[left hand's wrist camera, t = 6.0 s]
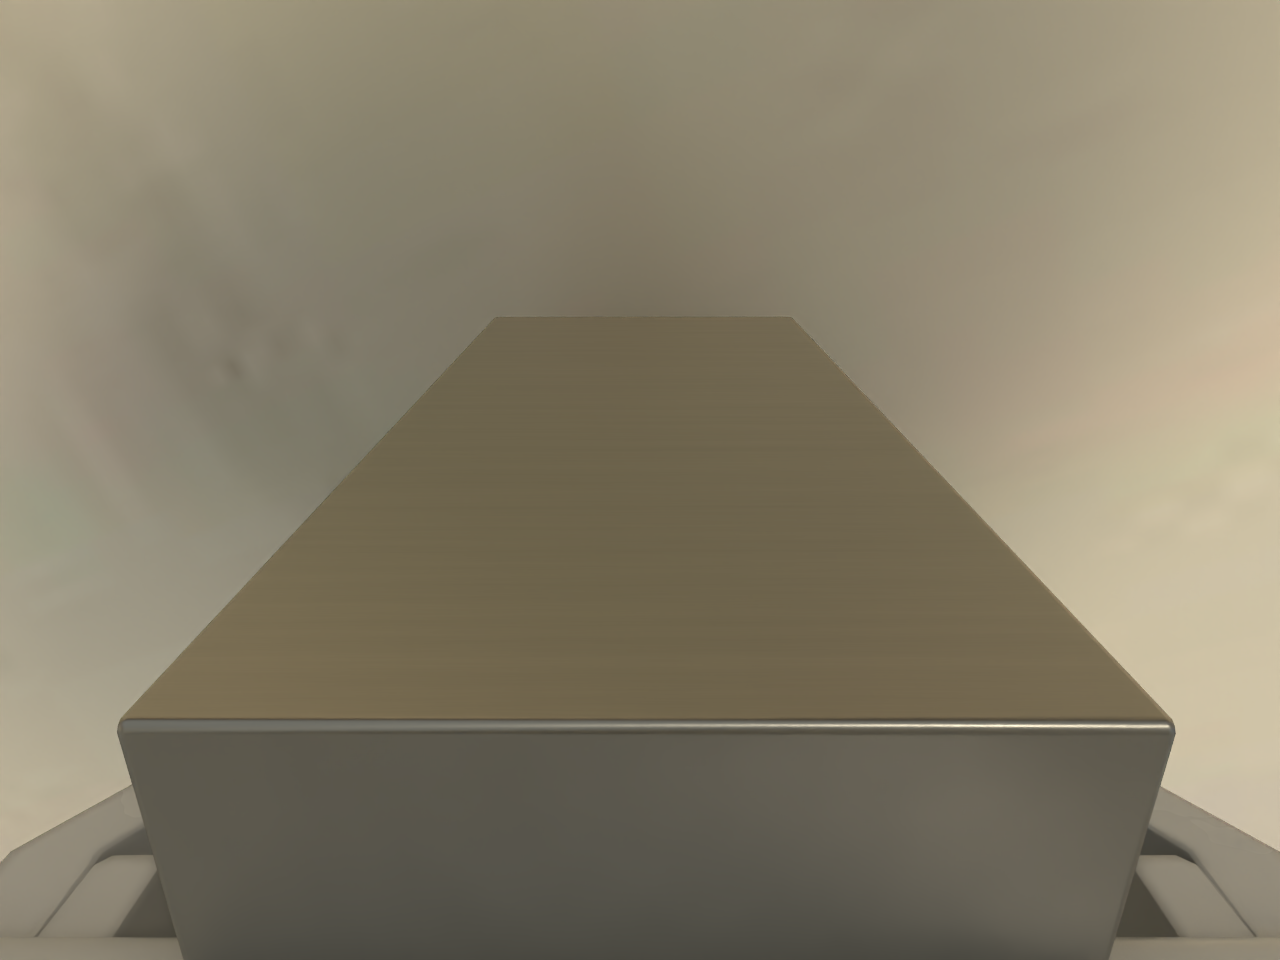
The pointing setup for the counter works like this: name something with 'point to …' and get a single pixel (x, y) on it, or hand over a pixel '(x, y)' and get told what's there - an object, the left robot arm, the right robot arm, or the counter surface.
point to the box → (645, 687)
